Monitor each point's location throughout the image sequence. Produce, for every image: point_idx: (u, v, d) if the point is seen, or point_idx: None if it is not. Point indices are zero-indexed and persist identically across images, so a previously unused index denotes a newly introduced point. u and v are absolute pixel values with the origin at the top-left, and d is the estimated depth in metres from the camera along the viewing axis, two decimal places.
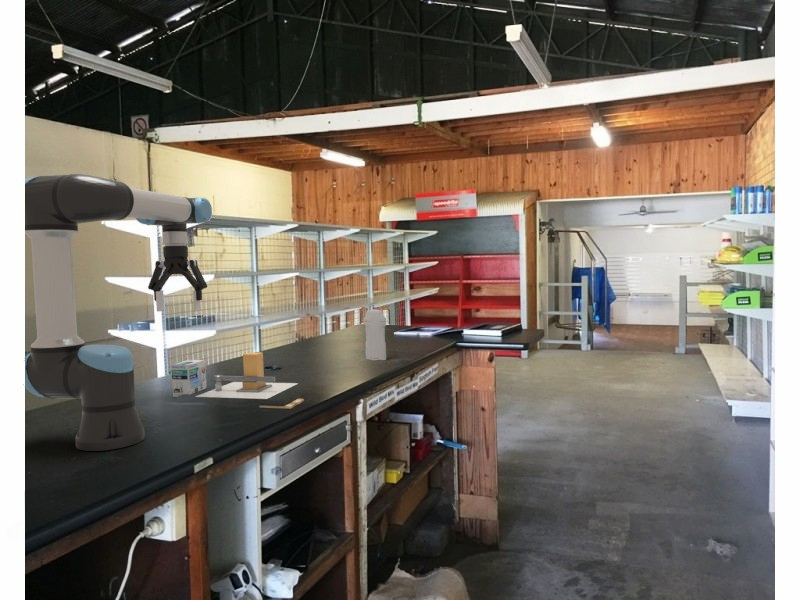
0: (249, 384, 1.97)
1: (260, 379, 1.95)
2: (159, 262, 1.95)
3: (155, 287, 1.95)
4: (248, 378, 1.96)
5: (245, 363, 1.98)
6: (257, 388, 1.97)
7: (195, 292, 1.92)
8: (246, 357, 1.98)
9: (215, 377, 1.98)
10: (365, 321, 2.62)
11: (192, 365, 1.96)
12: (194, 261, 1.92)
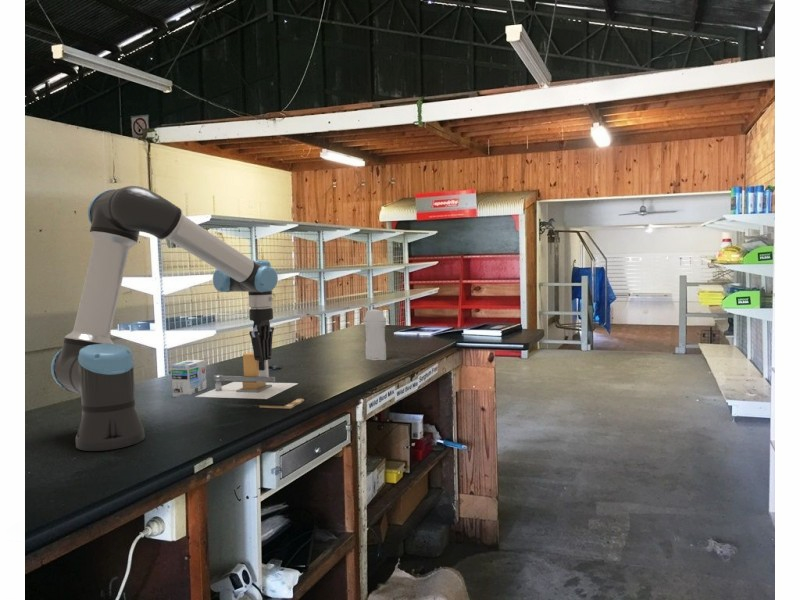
0: (249, 384, 1.97)
1: (260, 379, 1.95)
2: None
3: None
4: (248, 378, 1.96)
5: (245, 363, 1.98)
6: (257, 388, 1.97)
7: None
8: (246, 357, 1.98)
9: (215, 377, 1.98)
10: (365, 321, 2.62)
11: (192, 365, 1.96)
12: (252, 334, 1.90)
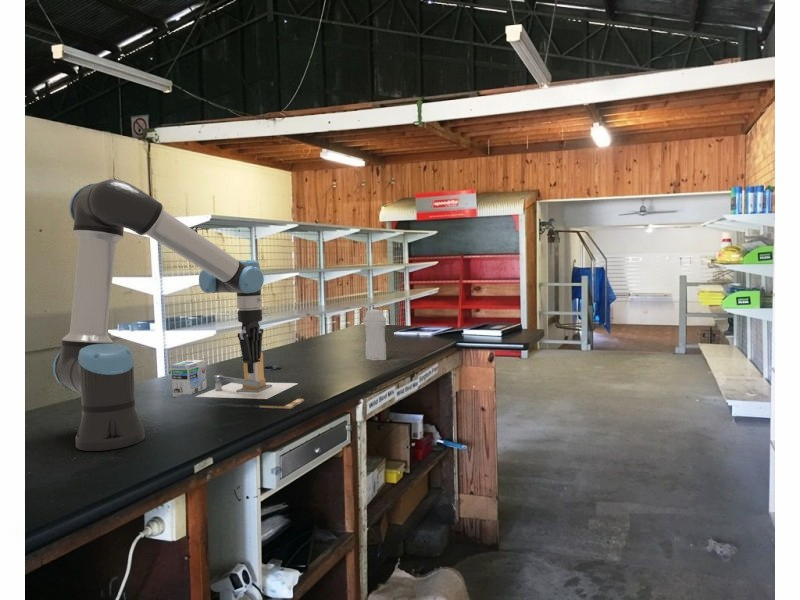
0: None
1: (247, 382, 1.90)
2: None
3: None
4: (238, 381, 1.92)
5: (245, 363, 1.98)
6: (257, 388, 1.97)
7: None
8: None
9: (214, 377, 1.99)
10: (365, 321, 2.61)
11: (192, 365, 1.96)
12: (240, 336, 1.85)
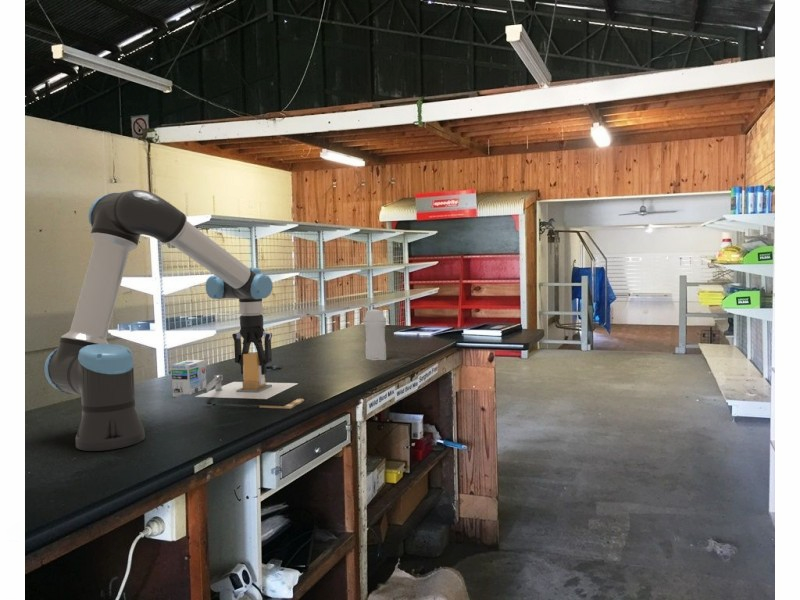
0: (249, 384, 1.97)
1: None
2: (235, 334, 2.00)
3: (241, 361, 1.99)
4: None
5: (245, 363, 1.98)
6: (257, 388, 1.97)
7: (260, 367, 1.98)
8: (246, 357, 1.98)
9: None
10: (365, 321, 2.61)
11: (192, 365, 1.96)
12: (270, 335, 1.97)
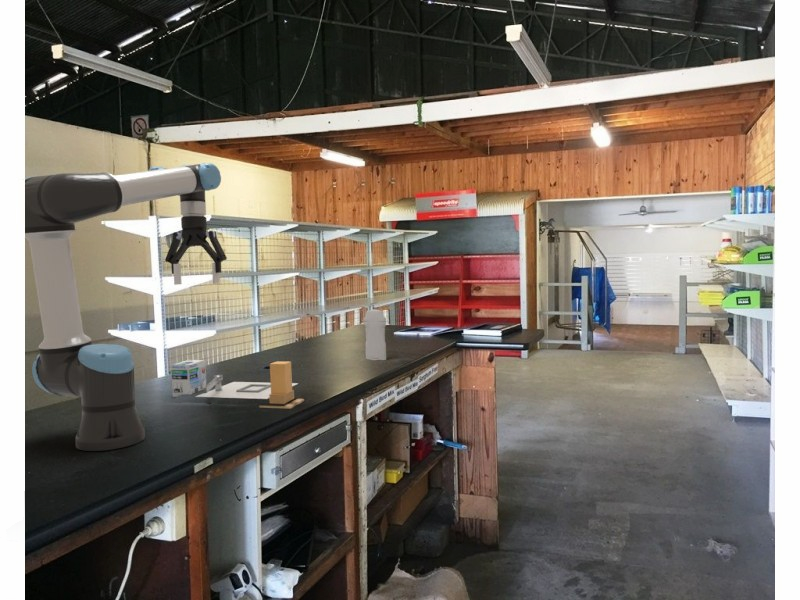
0: (277, 397, 1.78)
1: None
2: (177, 233, 1.89)
3: (173, 259, 1.89)
4: None
5: (272, 374, 1.79)
6: (285, 401, 1.78)
7: (214, 264, 1.86)
8: (274, 366, 1.79)
9: None
10: (365, 321, 2.62)
11: (192, 365, 1.96)
12: (213, 232, 1.87)
